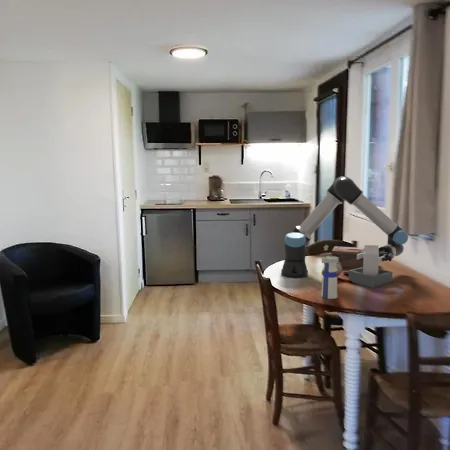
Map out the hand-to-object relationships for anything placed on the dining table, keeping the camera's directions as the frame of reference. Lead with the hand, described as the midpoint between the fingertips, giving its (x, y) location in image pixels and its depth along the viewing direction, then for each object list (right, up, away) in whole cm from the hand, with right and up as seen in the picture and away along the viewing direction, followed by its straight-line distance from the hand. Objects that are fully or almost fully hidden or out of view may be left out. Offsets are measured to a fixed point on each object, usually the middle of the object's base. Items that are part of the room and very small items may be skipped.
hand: (367, 258), depth 242 cm
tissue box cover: (+5, -8, +43) cm, 44 cm away
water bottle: (-25, -17, -20) cm, 36 cm away
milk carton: (+3, -12, +5) cm, 13 cm away
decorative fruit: (-15, -12, +13) cm, 23 cm away
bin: (+3, -13, +5) cm, 14 cm away
